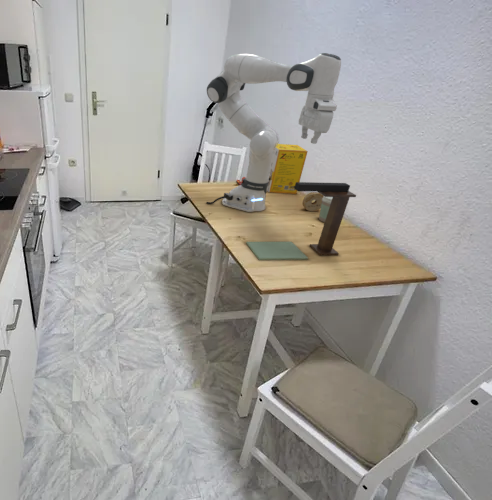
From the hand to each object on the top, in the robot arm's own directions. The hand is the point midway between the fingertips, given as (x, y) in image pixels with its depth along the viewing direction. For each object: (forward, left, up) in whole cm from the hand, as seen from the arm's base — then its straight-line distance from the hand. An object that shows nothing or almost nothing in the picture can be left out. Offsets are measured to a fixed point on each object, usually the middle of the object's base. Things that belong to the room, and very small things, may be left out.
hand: (308, 140), depth 141 cm
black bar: (+9, -12, -15) cm, 21 cm away
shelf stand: (+14, -9, -41) cm, 44 cm away
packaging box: (-9, +69, -41) cm, 81 cm away
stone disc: (+10, +40, -41) cm, 58 cm away
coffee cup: (+17, +29, -41) cm, 53 cm away
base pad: (-2, -18, -41) cm, 45 cm away
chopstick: (-29, +59, -41) cm, 77 cm away
